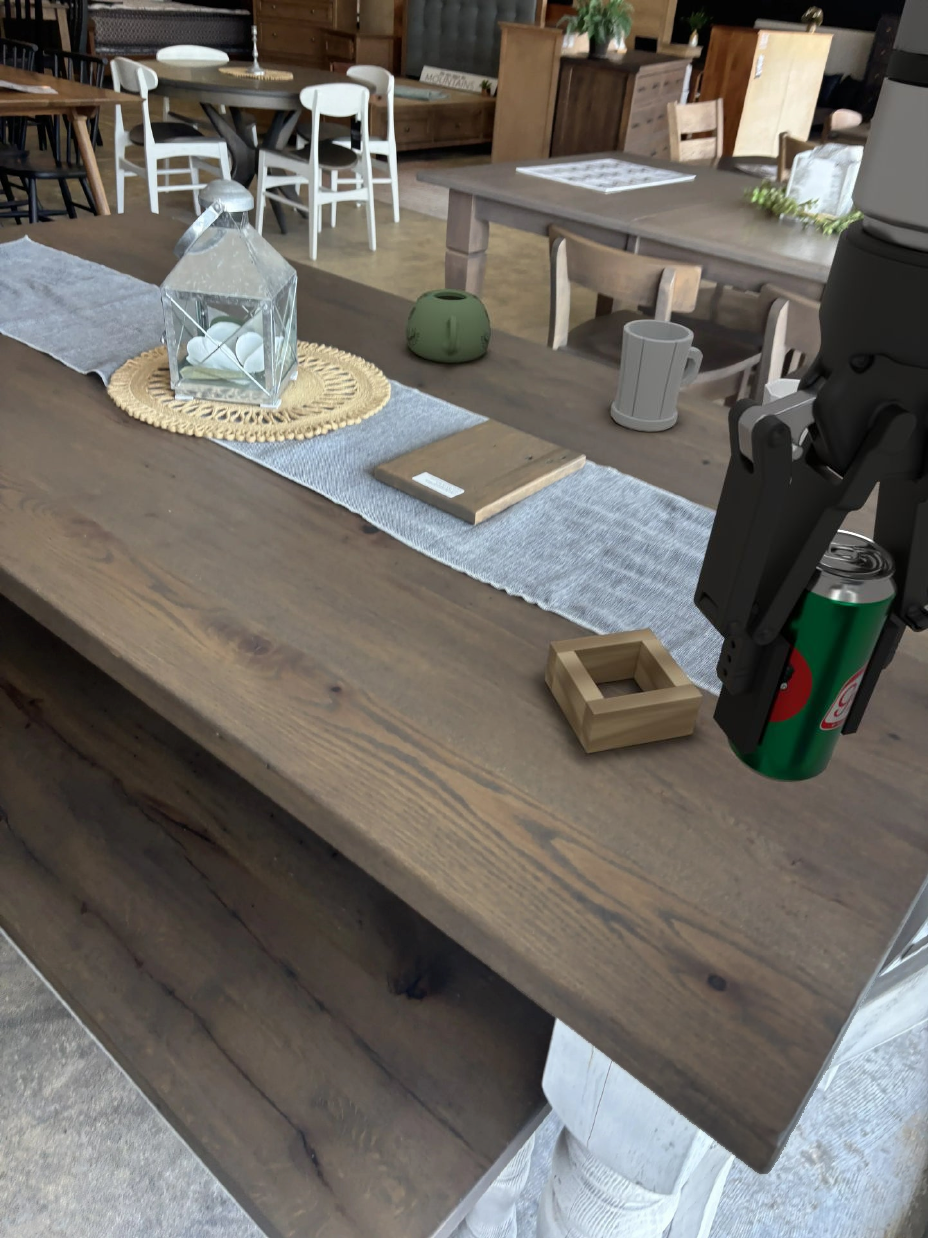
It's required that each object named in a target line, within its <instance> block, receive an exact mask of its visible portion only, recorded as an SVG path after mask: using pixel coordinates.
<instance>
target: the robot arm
mask: <svg viewBox="0 0 928 1238" xmlns="http://www.w3.org/2000/svg"><path fill="white" fill-rule="evenodd" d="M901 13H902V14H901V17H900V21H899V24H898V28H897V32H896V35H895V40H894V42H893V47H892V49H893V51H892V53H891V55H890V57H889V61H888V64H887V68H886V72H885V75H886V76H887V77H884V78H883V82H882V84H881V88H880V91H879V95H878V100H877V102H876V105H875V110H874V113H873V117H872V120H871V125H870V127H869V132H868V135H867V139H866V142H865V146H864V149H863V153H862V157H861V161H860V164H859V168H858V171H857V175H856V177H855V182H854V185H853V189H852V192H851V196H850V199H851V200H852V203H853V204H854V207H855V209H856V210H857V211H859V212H860V213H861V214H862V215H864V216H863V218H858V219H856V220H853V221H851V222H850V223H849V224H848V225H847V227H845V228H844V229H842V230H841V231H840V233H839V237H838V241H837V244H836V247H835V251H834V254H833V258H832V262H831V265H830V266H831V267H830V269H829V272H828V277H827V279H826V283H825V286H824V290H823V294H822V297H821V301H820V304H819V307H818V308H819V309H818V321H819V331H820V343H819V344H820V345H819V349H818V352H817V354H816V356H815V358H814V360H813V361H812V363H811V364H810V366H809V367H808V368H807V370H806V371H805V373H803V375H802V377H801V378H800V379H799V380H800V382H799V385H798V388H797V392H795V393H792V394H790V395H787V396H785V397H783V398H780V399H778V400H775V401H773V402H770V403H768V404H765V405H763V404H762V405H760V404H759V403H758V402H756V401H755V400H754V399H752V398H750V397H744V398H743V397H742V398H740V399H738V400H737V401H735V402H734V403H733V405H731V407H730V409H729V411H728V413H727V415H728V416H727V423H728V434H729V445H730V457H729V462H728V466H727V469H726V473H725V477H724V481H723V484H722V488H721V491H720V497H719V499H718V503H717V506H716V507H717V508H716V511H715V515H714V518H713V523H712V527H711V530H710V533H709V537H708V540H707V541H708V542H707V544H706V545H707V546H706V549H705V553H704V557H703V559H702V560H703V561H702V564H701V568H700V572H699V576H698V580H697V583H696V587H695V591H694V595H693V604H694V606H695V607H696V608H697V609H698V611H700V613H701V614H702V615H703V616H704V617H705V619H706V620H707V621H708V622H709V623H710V624H711V626H712V627H713V628H714V629H715V630H716V631H717V633H719V635H720V636H721V637H722V638H723V642H722V645H721V648H720V653H719V655H718V660H717V663H716V667H715V671H716V677H717V678H718V680H720V682H721V683H722V684H721V688H720V691H719V695H718V699H717V701H716V705H715V709H714V712H713V716H712V719H713V720H714V722H715V723H716V724H717V725H718V727H719V728H720V729H721V730H722V732H723V733H724V734H725V736H726V738H727V737H728V738H729V740H730V741H731V742H732V744H733V745H734V746H735V748H736V749H737V750H738V752H739V753H740V754H741V755H742V754H747V753H753V752H755V750H756V747H757V744H758V741H759V738H760V735H761V732H762V729H763V726H764V722H765V719H766V716H767V713H768V710H769V707H770V704H771V701H772V698H773V695H774V692H775V689H776V686H777V683H778V680H779V677H780V674H781V671H782V668H783V665H784V662H785V659H786V656H787V653H788V650H789V647H790V644H789V643H788V642H787V641H786V639H785V638H784V637H783V636H782V635H781V634H780V633H779V632H780V630H781V628H782V626H783V625H784V623H785V621H786V620H787V618H788V616H789V614H790V613H791V611H792V609H793V607H794V606H795V604H796V602H797V601H798V599H799V597H800V595H801V594H802V592H803V590H804V588H805V587H806V585H807V583H808V582H809V580H810V578H811V576H812V575H813V573H814V571H815V569H816V568H817V566H818V564H819V562H820V561H821V559H822V557H823V556H824V554H825V552H826V550H827V549H828V547H829V545H830V543H831V542H832V540H833V538H834V537H835V535H836V533H837V531H838V530H840V528H841V526H842V524H843V523H844V521H845V519H847V516H848V515H849V513H851V512H857V511H859V510H861V509H862V508H863V507H864V506H865V505H866V503H867V501H868V499H869V498H870V496H871V494H872V493H873V490H874V489H875V487H876V485H877V484H878V483H879V484H878V492H877V500H876V508H875V509H876V510H875V518H874V526H873V527H874V528H873V536H872V540H873V541H875V542H877V543H878V544H880V545H882V546H883V547H884V548H886V549H887V550H888V551H889V552H890V553H891V554H892V556H893V557H894V559H895V561H896V571H895V572H894V576H895V579H896V582H897V593H896V596H895V598H894V601H893V603H892V606H891V608H890V611H889V613H888V616H887V618H886V621H885V623H884V626H883V628H882V631H881V633H880V636H879V638H878V641H877V643H876V646H875V648H874V651H873V653H872V656H871V658H870V661H869V663H868V666H867V668H866V671H865V673H864V676H863V678H862V681H861V683H860V686H859V688H858V691H857V693H856V696H855V698H854V701H853V703H852V706H851V708H850V711H849V713H848V716H847V718H846V721H845V723H844V726H843V728H842V731H841V733H840V734H841V735H842V736H847V735H852V734H857V732H858V729H859V726H860V725H861V722H862V719H863V717H864V714H865V712H866V710H867V707H868V705H869V703H870V700H871V698H872V695H873V693H874V692H875V691H874V690H875V688H876V686H877V684H878V681H879V679H880V676H881V674H882V671H883V670H886V669H887V668H888V666H889V665H890V664H891V663H892V661H893V660H894V657H895V655H896V653H897V650H898V649H899V644H900V642H901V640H902V638H903V636H904V634H905V631H906V629H907V627H908V628H909V629H910V630H912V631H913V632H914V633H921V632H924V631H926V630H927V629H928V609H926V608H925V607H926V606H928V0H905V2H904V6H903V10H902V12H901ZM806 428H807V430H808V432H807V434H806V436H805V438H804V440H803V442H802V444H801V446H800V445H799V442H800V438H801V435H802V433H803V432H804V430H805V429H806ZM792 460H793V461H792Z"/></svg>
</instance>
